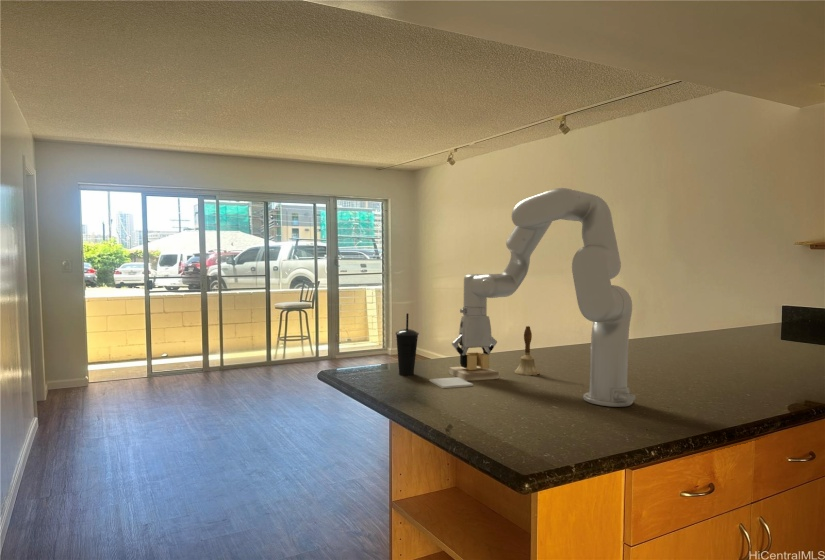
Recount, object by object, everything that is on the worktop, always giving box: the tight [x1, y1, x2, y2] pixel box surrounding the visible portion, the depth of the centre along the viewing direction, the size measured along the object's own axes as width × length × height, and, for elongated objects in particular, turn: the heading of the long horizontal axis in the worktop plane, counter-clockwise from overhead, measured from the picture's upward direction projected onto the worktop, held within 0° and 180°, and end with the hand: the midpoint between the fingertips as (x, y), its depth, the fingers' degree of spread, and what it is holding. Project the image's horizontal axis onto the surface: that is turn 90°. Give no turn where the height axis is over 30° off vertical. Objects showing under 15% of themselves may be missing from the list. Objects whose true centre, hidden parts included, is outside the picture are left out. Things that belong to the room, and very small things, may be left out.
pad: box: [428, 376, 474, 389], centre depth 165 cm, size 10×10×1 cm
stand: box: [448, 366, 499, 382], centre depth 177 cm, size 12×12×7 cm
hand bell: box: [514, 325, 540, 376], centre depth 183 cm, size 8×8×16 cm
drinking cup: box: [395, 313, 420, 376], centre depth 178 cm, size 8×8×20 cm
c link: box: [459, 351, 490, 370], centre depth 176 cm, size 7×7×4 cm
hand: (474, 366), depth 176 cm, fingers closed on c link, 7 cm apart
